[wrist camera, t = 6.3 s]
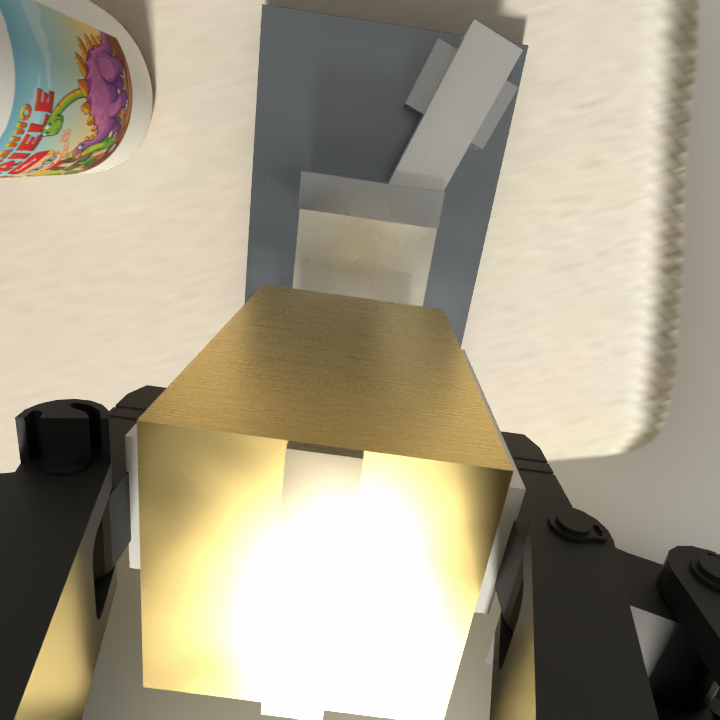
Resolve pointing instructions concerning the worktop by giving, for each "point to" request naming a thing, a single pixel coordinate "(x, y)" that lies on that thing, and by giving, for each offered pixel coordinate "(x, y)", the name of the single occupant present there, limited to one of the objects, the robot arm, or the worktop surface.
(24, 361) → the worktop surface
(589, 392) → the worktop surface
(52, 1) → the milk bottle
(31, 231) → the worktop surface
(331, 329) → the yellow block
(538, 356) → the worktop surface
